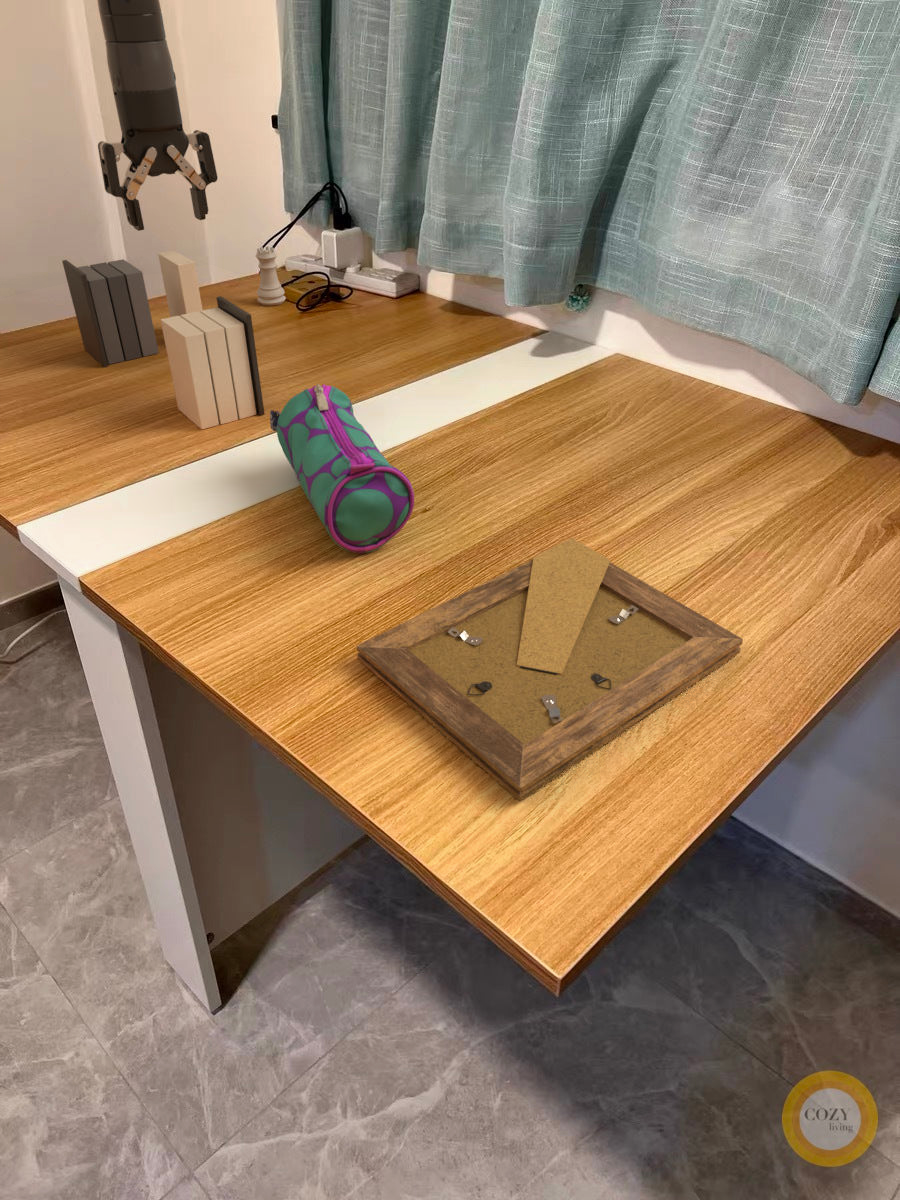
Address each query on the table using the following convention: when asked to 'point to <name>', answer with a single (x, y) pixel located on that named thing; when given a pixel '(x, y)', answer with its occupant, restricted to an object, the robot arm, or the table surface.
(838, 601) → the table surface
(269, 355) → the table surface
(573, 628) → the picture frame
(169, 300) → the white book
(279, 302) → the rook chess piece
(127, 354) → the grey books
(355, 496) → the pencil case
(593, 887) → the table surface
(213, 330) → the white books
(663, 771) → the table surface
